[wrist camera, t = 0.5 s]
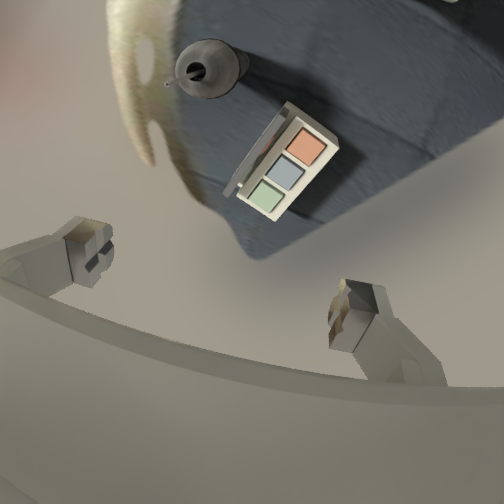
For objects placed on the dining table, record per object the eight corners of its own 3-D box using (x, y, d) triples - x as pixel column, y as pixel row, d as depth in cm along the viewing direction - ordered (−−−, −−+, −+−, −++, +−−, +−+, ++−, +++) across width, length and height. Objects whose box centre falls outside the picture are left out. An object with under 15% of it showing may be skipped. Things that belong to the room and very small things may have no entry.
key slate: (283, 152, 42) (281, 156, 40) (303, 166, 42) (303, 172, 41) (268, 170, 44) (266, 175, 42) (289, 184, 44) (287, 190, 43)
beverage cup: (269, 71, 38) (234, 87, 23) (227, 94, 42) (169, 130, 26) (242, 31, 35) (187, 21, 20) (201, 56, 38) (127, 70, 23)
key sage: (264, 176, 44) (261, 182, 43) (284, 190, 45) (282, 196, 44) (251, 193, 47) (248, 199, 45) (270, 206, 47) (268, 213, 46)
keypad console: (287, 100, 41) (281, 111, 34) (337, 137, 42) (340, 154, 36) (234, 174, 50) (220, 196, 43) (279, 204, 51) (272, 230, 45)
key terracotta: (303, 126, 39) (302, 130, 37) (324, 142, 39) (325, 146, 38) (288, 145, 41) (286, 150, 39) (309, 160, 42) (308, 166, 40)
